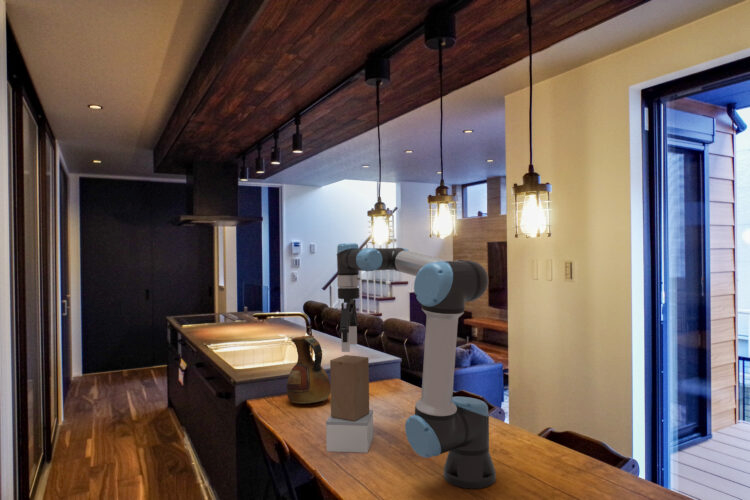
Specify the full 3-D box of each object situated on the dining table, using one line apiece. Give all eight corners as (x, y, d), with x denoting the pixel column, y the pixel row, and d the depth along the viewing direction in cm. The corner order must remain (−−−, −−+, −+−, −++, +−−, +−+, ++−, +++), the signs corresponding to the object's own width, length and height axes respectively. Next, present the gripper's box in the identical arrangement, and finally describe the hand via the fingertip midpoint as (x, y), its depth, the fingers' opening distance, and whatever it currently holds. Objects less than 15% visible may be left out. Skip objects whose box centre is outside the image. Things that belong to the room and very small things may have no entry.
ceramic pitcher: (307, 393, 241) (306, 330, 241) (340, 400, 230) (339, 334, 230) (277, 404, 225) (276, 336, 226) (310, 411, 214) (309, 341, 214)
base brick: (367, 452, 169) (366, 422, 169) (326, 451, 171) (326, 421, 171) (373, 437, 183) (372, 409, 183) (335, 436, 185) (335, 408, 185)
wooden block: (354, 422, 170) (353, 362, 170) (330, 417, 175) (329, 359, 175) (369, 413, 179) (369, 357, 179) (346, 409, 184) (345, 354, 184)
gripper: (352, 289, 164) (353, 355, 164) (364, 284, 189) (365, 341, 189) (329, 290, 165) (331, 354, 165) (345, 285, 190) (346, 341, 190)
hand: (349, 348), depth 177 cm, fingers open, 13 cm apart
